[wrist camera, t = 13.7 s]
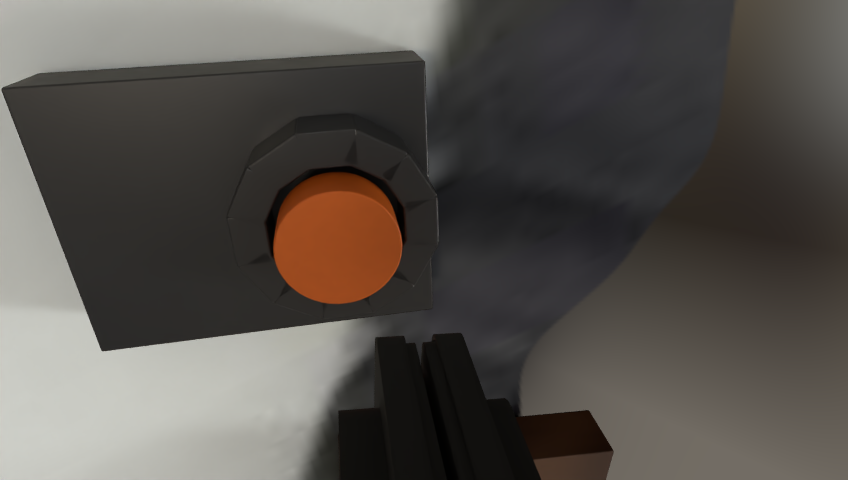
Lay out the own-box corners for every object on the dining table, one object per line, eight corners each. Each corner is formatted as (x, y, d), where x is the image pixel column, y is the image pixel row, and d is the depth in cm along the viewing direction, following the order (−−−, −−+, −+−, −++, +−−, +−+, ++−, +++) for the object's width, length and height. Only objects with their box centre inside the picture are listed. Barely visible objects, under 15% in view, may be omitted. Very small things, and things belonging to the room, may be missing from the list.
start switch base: (413, 50, 20) (437, 70, 16) (422, 279, 25) (442, 338, 21) (37, 73, 19) (-39, 103, 15) (121, 315, 23) (81, 387, 19)
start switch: (392, 165, 18) (399, 184, 16) (398, 270, 20) (405, 296, 18) (267, 177, 17) (262, 198, 16) (286, 283, 19) (283, 311, 18)
